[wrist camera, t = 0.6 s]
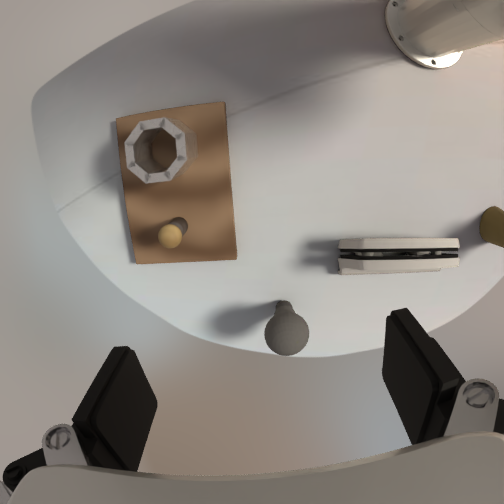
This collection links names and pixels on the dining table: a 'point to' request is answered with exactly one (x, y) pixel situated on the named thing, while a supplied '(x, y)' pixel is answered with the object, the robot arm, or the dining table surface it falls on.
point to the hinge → (413, 261)
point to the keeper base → (182, 192)
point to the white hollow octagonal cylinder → (141, 150)
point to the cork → (493, 226)
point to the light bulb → (286, 330)
